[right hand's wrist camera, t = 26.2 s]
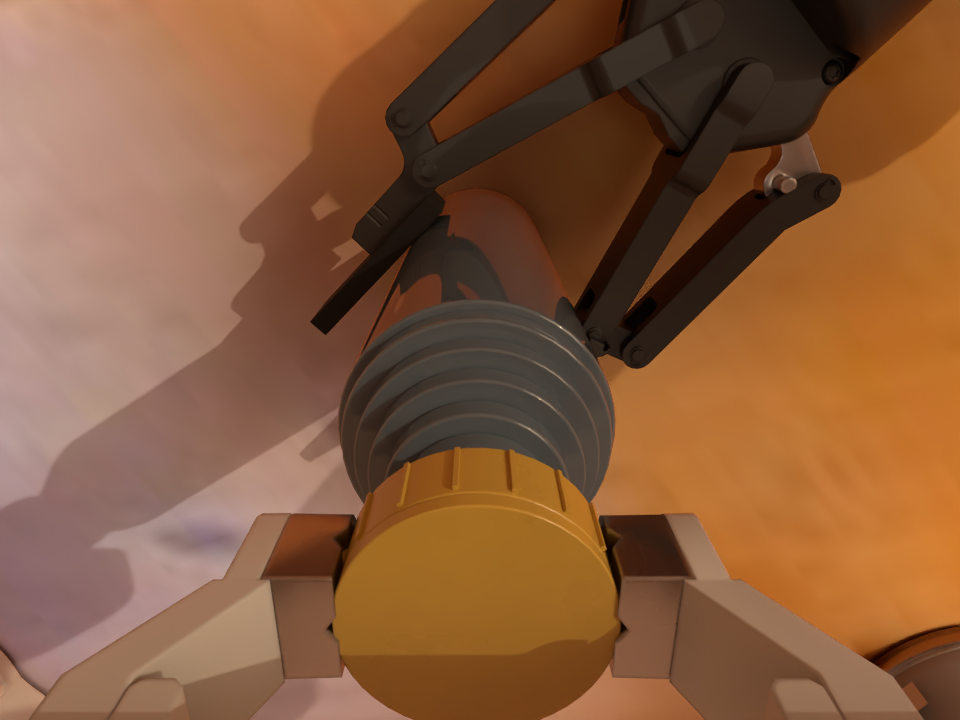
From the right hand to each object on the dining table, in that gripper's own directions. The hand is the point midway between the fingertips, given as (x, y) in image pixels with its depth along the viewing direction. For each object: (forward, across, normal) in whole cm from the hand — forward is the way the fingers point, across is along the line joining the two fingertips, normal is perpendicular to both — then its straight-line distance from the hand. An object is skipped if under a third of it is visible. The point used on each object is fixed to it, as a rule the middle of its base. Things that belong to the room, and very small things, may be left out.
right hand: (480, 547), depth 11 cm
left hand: (+16, -4, -4) cm, 17 cm away
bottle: (+22, 0, 0) cm, 22 cm away
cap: (-1, 0, 0) cm, 1 cm away
